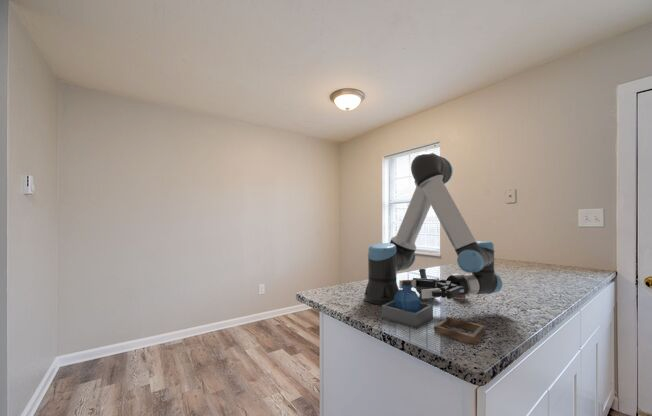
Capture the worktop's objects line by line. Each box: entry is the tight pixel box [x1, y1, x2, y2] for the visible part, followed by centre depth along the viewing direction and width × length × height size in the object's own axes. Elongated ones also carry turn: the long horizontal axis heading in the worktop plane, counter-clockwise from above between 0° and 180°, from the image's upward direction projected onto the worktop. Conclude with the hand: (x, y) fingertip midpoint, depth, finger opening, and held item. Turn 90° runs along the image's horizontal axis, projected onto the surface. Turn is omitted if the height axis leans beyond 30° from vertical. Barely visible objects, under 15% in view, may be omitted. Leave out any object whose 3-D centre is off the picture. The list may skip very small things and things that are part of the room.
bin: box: [381, 301, 434, 330], centre depth 95 cm, size 13×13×4 cm
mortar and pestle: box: [415, 268, 437, 301], centre depth 120 cm, size 11×9×12 cm
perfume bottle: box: [394, 279, 421, 313], centre depth 95 cm, size 6×6×12 cm
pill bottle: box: [451, 273, 467, 300], centre depth 121 cm, size 6×6×10 cm
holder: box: [433, 316, 486, 345], centre depth 83 cm, size 11×11×2 cm
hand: (410, 289), depth 95 cm, fingers open, 13 cm apart
